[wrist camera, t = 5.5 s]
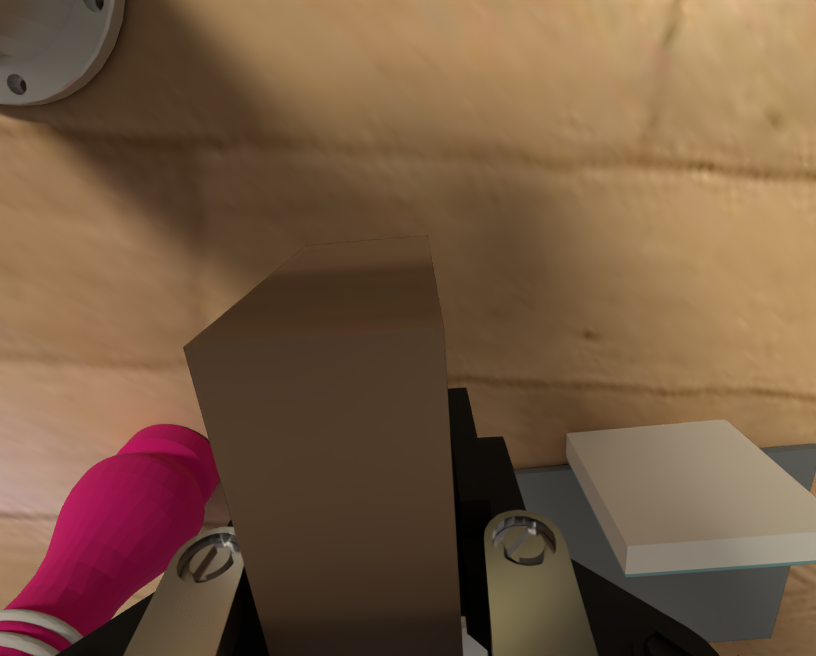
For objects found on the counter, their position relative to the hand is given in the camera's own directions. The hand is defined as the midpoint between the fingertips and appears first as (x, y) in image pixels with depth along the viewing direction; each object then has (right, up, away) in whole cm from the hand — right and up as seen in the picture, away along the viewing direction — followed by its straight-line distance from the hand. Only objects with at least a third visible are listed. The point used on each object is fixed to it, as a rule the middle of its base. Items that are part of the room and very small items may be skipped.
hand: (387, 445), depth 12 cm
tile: (+16, -4, +18) cm, 24 cm away
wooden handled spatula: (0, -4, +2) cm, 5 cm away
